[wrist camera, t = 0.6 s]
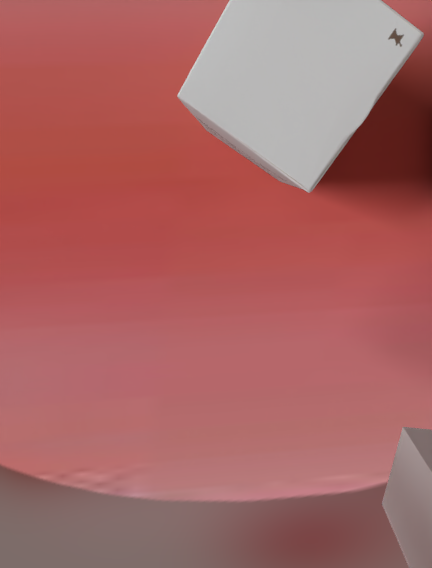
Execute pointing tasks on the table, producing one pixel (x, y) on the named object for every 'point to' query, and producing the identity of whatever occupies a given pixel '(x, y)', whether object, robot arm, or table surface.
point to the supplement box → (296, 79)
